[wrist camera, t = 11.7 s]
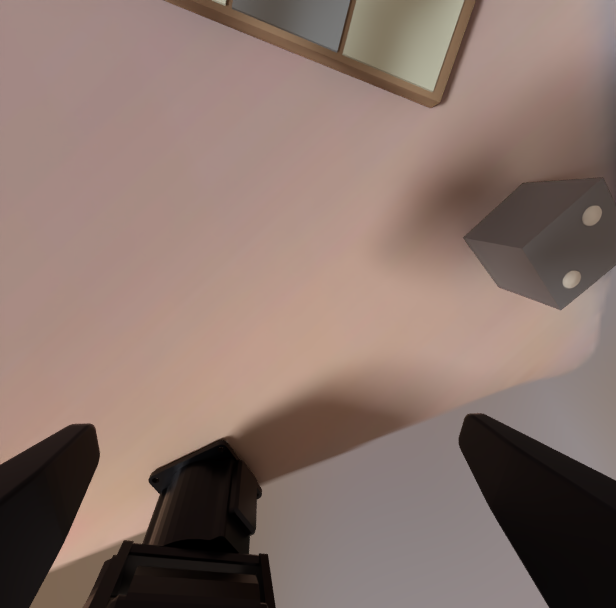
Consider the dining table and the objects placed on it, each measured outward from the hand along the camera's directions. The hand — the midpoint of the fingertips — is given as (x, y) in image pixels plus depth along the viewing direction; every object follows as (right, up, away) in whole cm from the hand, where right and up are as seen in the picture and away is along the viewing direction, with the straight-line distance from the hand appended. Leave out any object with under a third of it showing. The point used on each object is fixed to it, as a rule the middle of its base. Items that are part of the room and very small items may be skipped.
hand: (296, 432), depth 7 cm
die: (+14, +8, +13) cm, 21 cm away
